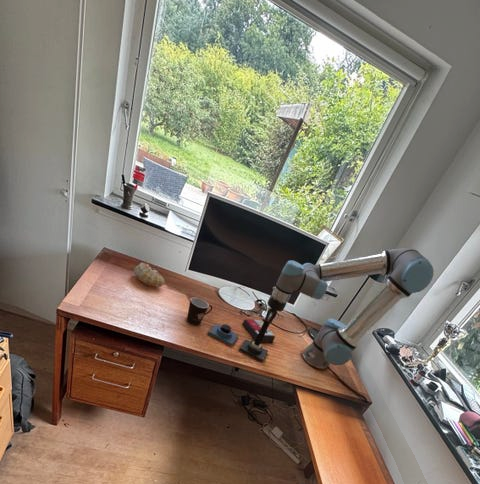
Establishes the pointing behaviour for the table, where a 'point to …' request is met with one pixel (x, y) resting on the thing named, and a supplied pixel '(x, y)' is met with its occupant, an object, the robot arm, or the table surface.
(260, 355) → the black key block
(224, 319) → the table surface
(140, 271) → the nautilus
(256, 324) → the calculator
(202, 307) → the coffee mug
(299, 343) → the table surface
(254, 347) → the cream key
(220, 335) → the blue key block
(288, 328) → the table surface
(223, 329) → the dark key
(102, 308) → the table surface
